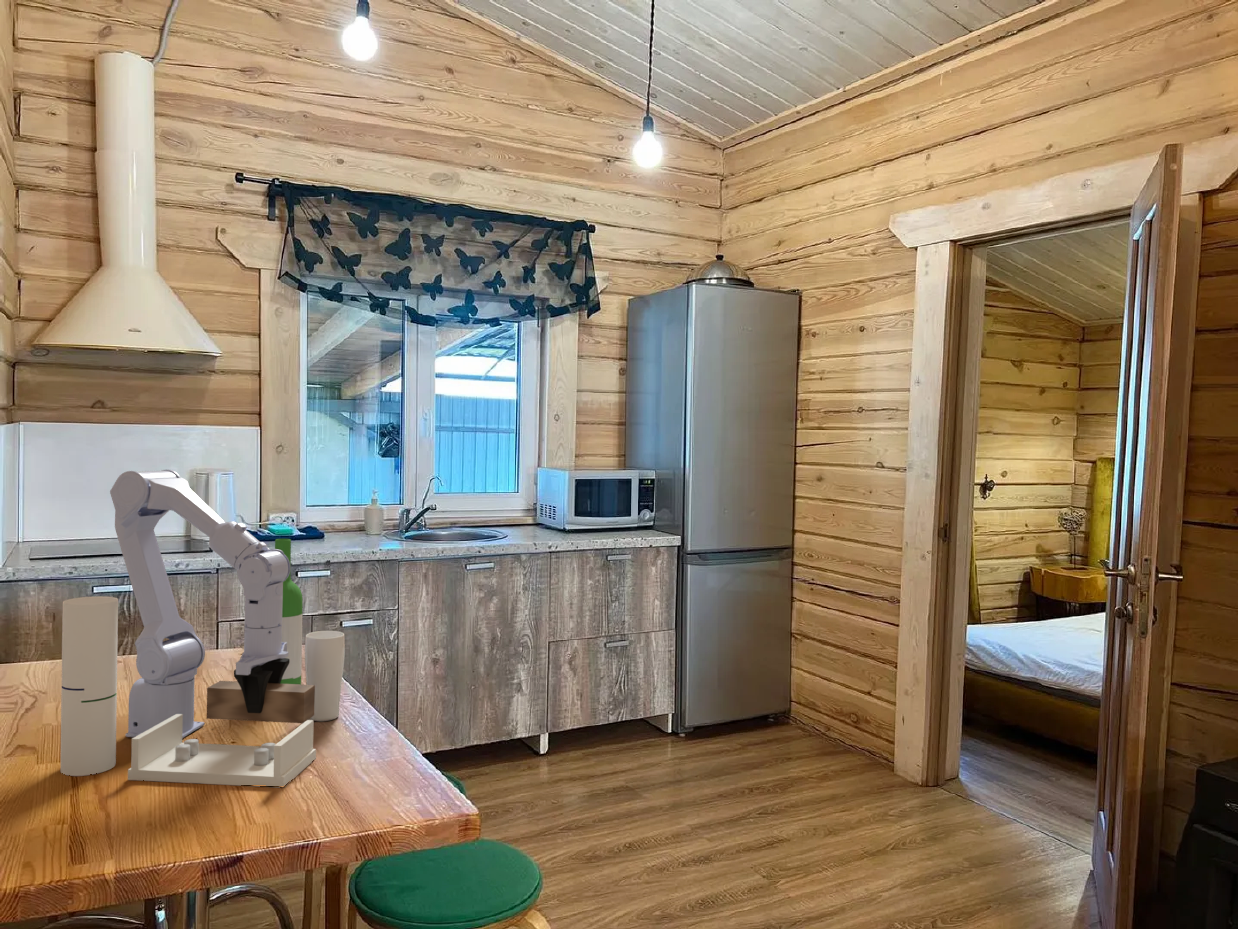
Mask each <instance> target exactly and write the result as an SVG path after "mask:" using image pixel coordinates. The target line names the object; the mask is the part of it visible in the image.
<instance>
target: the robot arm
mask: <svg viewBox="0 0 1238 929" xmlns="http://www.w3.org/2000/svg"><path fill="white" fill-rule="evenodd" d="M109 494H110V497H111V500H112V503H113V508H114V529H115V530H114V531H115V534H116V536H117V540H118V543H119V544H118V545H119V547H120V550H121V553H122V557H123V560H124V564H125V568H126V571H127V574H128V577H129V580H130V584H131V587H132V590H133V594H134V597H135V600H136V605H137V607H138V611H139V615H140V618H141V621H142V624H143V629H142V631H141V632H140V634H139V635H138V637H137V639H135V642H134V645H135V648H136V649H135V650H136V661H135V664H136V665H135V666H136V669H137V672H138V674H139V676H140V677H141V678H138V679H137V680H136V681H134V683H133V684H132V686H131V688H130V691H129V695H128V721H127V722H128V725H127V726H128V728H127V730H128V731H127V732H126V733H125V737H127V738H134V737H136V736H138V735H140V734H141V733H143V732H145V731H147V730H149V729H150V728H152V727H154V726H156V725H158V724H159V723H161V722H163V721H165V720H167V719H168V718H170V717H172V716H174V715H176V714H183V729H182V739H183V738H185V737H186V736H188V735H190V734H191V733H193V732H194V731H197V730H199V729H200V728H201V727H203V726H205V722H204V721H195V678H196V677H195V676H196V675H198V669H199V667H201V665H202V664H203V662H204V660H205V656H206V649H205V646H204V644H203V642H202V640H201V639H200V638H199V637H198V636H197V634H196V632H195V629H194V625H193V624H191V623H189V622H188V621H186V620H185V619H183V618H182V617H181V616H180V614H179V611H178V607H177V604H176V603H177V602H176V600H175V596H174V593H173V589H172V586H171V582H170V580H169V577H168V574H167V570H166V567H165V563H164V560H163V557H162V553H161V550H160V547H159V543H158V541H157V536H156V534H155V528H156V526H157V525H158V523H159V521H160V520H161V519H162V518H163V517H164V516H165V515H167V514H168V513H169V511H172V512H174V513H176V514H177V515H179V516H180V517H181V518H183V519H184V520H186V522H188V523H190V524H191V525H192V526H193V527H194V528H196V529H197V530H199V531H200V532H202V533H203V534H204V535H205V536H206V537H208V539H209V541H208V542H209V549H211V550H212V551H214V552H215V553H216V555H218V556H219V557H220V558H221V559H223V560H224V561H225V562H226V563H227V564H229V565H230V566H231V567H232V568H234V570H236V573H237V574H236V575H237V579H238V581H239V582H240V584H241V585H242V588H243V593H242V594H243V596H244V633H243V636H244V637H243V652H242V654H241V656H240V657H239V658H240V659H239V660H238V661H236V662H235V669H234V670H233V677H234V678H235V679H236V681H237V682H238V683H239V685H240V687H241V690H242V692H243V696H244V700H245V704H246V708H247V712H248V713H261V712H262V709H263V705H264V698H265V691H266V687H267V684H268V683H281V680H282V677H283V674H284V672H285V670H286V668H287V667H288V665H289V659H288V658H286V657H287V656H288V652H287V642H282V603H283V582H284V581H285V580H286V579H287V578H288V576H289V574H290V562H289V559H288V558H287V556H286V555H285V554H284V553H283V551H281V550H279V549H275V548H269V547H268V545H267V544H266V543H265V542H264V541H260V540H258V539H257V538H256V537H255V536H254V535H253V534H251V532H249V531H248V530H247V528H248V526H247V525H246V524H244V523H243V522H236V521H234V520H232V521H225V520H223V518H222V517H220V516H219V515H218V513H216V512H215V511H214V510H213V509H212V508H211V507H210V506H209V505H208V504H207V503H206V502H205V501H204V500H202V498H201V497H199V495H198V494H197V493H196V492H194V491H193V489H191V488H190V484H189V481H188V480H187V479H185V478H184V477H181V475H180V474H179V473H178V472H176V471H175V470H173V469H161V470H145V471H143V470H142V471H138V470H137V471H136V470H128V471H125V472H123V473H121V474H120V475H119V476H118V477H117V479H116V480H115V482H114V483H113V485H112V486H111V489H110V491H109ZM165 639H166V640H165Z"/></svg>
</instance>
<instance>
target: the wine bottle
mask: <svg viewBox="0 0 1238 929" xmlns="http://www.w3.org/2000/svg"><path fill="white" fill-rule="evenodd" d="M274 549H279V550H281V551H283V553H284V554H285V555H286V556H287V558H288V559H289V562H290V574H289V576H288V578H287V579H286V580H285V581H284V582H283V603H282V642H287V652H288V656H287V657H286V658H288V659H289V665H288V667H287V668H286V670H285V672H284V674H283V677H282V680H281V683H280V684H301V685H302V668H303V667H302V664H303V663H302V661H303V659H302V658H303V655H302V654H303V605H304V603H303V601H304V600H303V594H302V593H303V592H302V590H301V588H300V587H299V586H298V585H297V584H296V583H295V582H294V581H293V580H292V578H291V577H292V576H291V570H292V568H291V566H292V564H291V563H292V560H291V559H292V557H291V556H292V539H290V538H276V539H275V540H274Z"/></svg>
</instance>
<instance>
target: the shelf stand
mask: <svg viewBox="0 0 1238 929" xmlns="http://www.w3.org/2000/svg"><path fill="white" fill-rule="evenodd" d="M314 722H315V721H314V720H311V719H309V720H307V721H305V722H304V723H300V725H299V726H298V727H297V728H295V729H294V730H292V731H291V732H290V733H288V734H287V735H285V737H283V738H282V739H280V741H278V742H277V743H275V742H265V743H263V744H261V746H258V745H241V744H220V743H219V744H217V743H201V742H200V743H199V739H197V738H190V739H186V740H184V741H183V738H182V729H183V714H176V715H174V716H172V717H170V718H168V719H167V720H165V721H163V722H161V723H159V724H158V725H156V726H154V727H152V728H150V729H149V730H147V731H145V732H143V733H141V734H140V735H138V736H136V737H131V758H130V759H131V763H130V764H131V765H130V766H131V767H130V768H128V769H127V780H128V781H142V782H144V781H145V782H163V783H183V784H205V785H221V786H222V785H224V786H241V785H266V786H284V785H286V784H287V783H288V782H289V781H290V782H292V781H293V780H294V779H295V778H296V777H297V776H299V775H300V774H301V773H302V772H303V771H304V770H305V769H306V768H307V767H308V766H309V765H310V764H312V763H313V762H314V761H315V760H316V759H317V749H316V748H314ZM313 760H314V761H313ZM312 761H313V762H312ZM292 779H293V780H292ZM143 780H144V781H143ZM291 780H292V781H291ZM290 782H289V783H290ZM289 783H288V784H289ZM288 784H287V785H288ZM287 785H286V786H287Z"/></svg>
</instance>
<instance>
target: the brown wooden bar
mask: <svg viewBox="0 0 1238 929" xmlns="http://www.w3.org/2000/svg"><path fill="white" fill-rule="evenodd" d="M314 702H315V685H307V684H302V683H301V684H280V683H268V684H267V687H266V691H265V698H264V705H263V709H262V712H261V713H248V712H247V708H246V704H245V700H244V696H243V692H242V690H241V687H240V685H239V683H238V681H237V680H236V681H233V680H232V681H231V680H219V681H217V682H216V683H214V684H212V685H210V686H208V687H207V688H206V719H210V720H227V721H228V720H230V721H249V722H268V723H284V724H285V723H287V724H288V723H290V724H303V723H304V722H305V721H307V720H311V719H310V718H311V717H312V716H314Z"/></svg>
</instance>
